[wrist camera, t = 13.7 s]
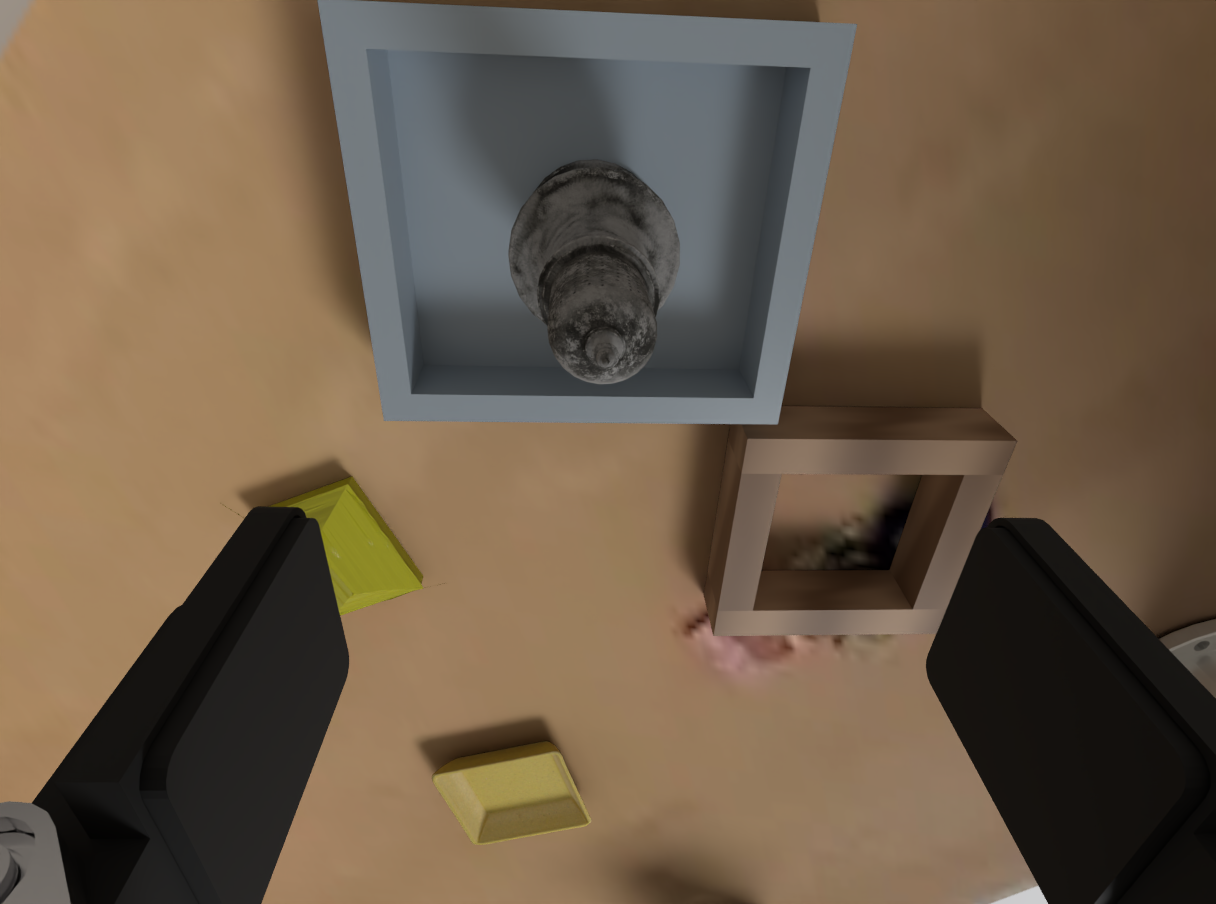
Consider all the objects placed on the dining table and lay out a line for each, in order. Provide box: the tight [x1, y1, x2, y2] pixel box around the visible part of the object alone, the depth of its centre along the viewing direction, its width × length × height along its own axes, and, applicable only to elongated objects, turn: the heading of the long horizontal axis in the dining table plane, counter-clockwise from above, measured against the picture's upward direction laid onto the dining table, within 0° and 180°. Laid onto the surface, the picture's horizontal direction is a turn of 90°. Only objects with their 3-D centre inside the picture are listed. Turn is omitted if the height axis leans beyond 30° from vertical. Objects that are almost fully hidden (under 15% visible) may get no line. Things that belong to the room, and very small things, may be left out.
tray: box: [318, 0, 857, 424], centre depth 25 cm, size 16×14×4 cm
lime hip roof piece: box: [220, 477, 445, 616], centre depth 34 cm, size 10×9×3 cm
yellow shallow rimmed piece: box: [432, 741, 591, 845], centre depth 45 cm, size 9×9×2 cm
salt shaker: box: [508, 159, 680, 384], centre depth 21 cm, size 6×6×12 cm
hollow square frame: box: [704, 406, 1017, 636], centre depth 34 cm, size 12×12×3 cm
